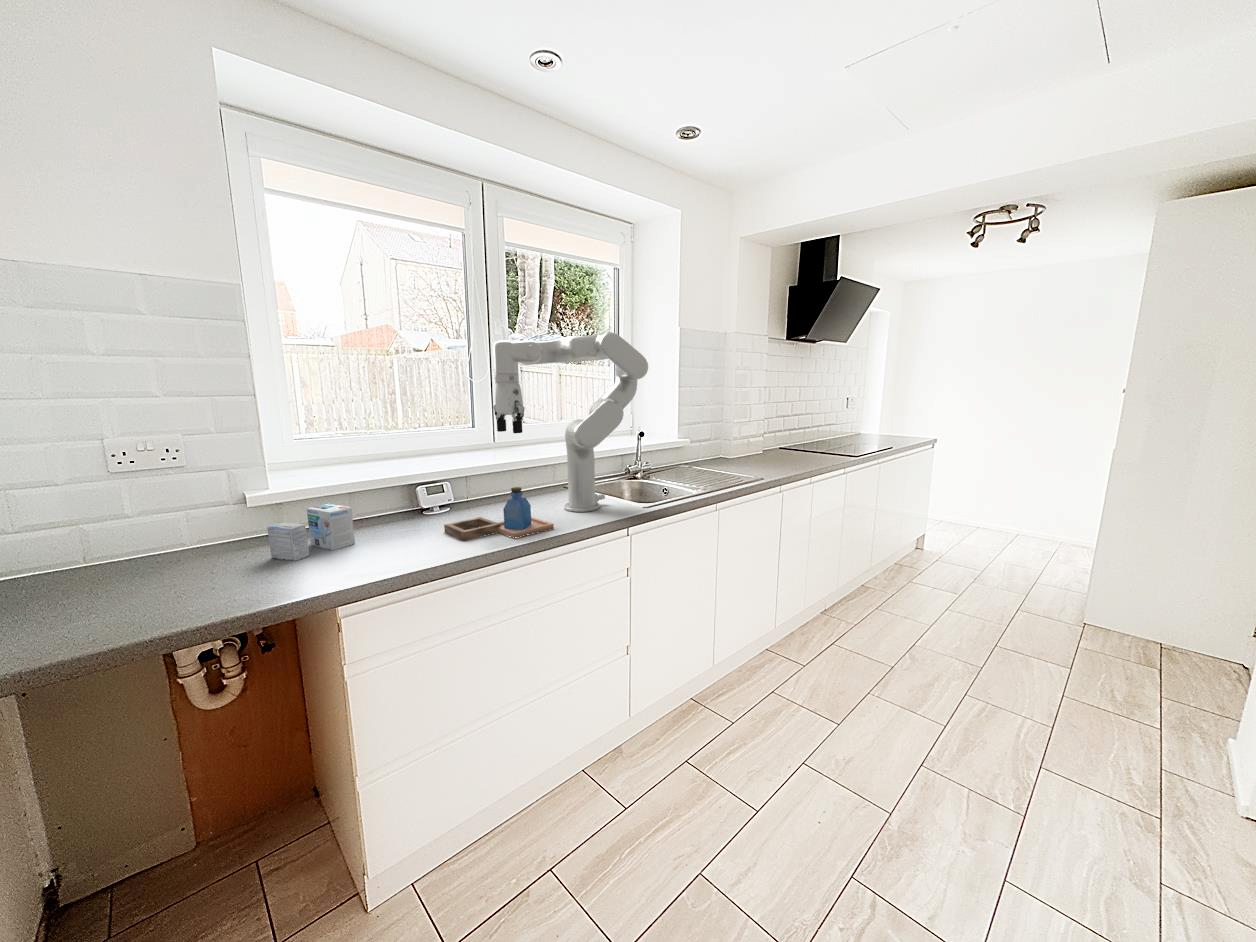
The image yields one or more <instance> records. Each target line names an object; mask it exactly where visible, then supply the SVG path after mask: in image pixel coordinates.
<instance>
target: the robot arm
mask: <svg viewBox="0 0 1256 942" xmlns="http://www.w3.org/2000/svg"><path fill="white" fill-rule="evenodd" d="M604 360H610V361H611V362H612V363H613V364H614V365H615V381H614V384H613V385H612V386H611V387H610V388H609V389H608V390H607V391H605V392H604V394H602V396H600V397H599V398H598V399H597V400H596V401H594V402H593V404H592V405H591V406H590V408H589V410H588V411H589V412H588V416H587V417H585V419H579V418H578V419H574V420H572V421H571V422H569V423H568V425H567V426H566V429H565V433H564V438H565V447H566V456H567V457H566V458H567V461H566V462H567V489H568V492H567V493H568V494H567V495H568V497H567V498H568V503H565V504H564V510H566V511H568V512H573V513H574V512H575V513H576V512H577V513H583V512H591V511H592V512H593V511H596V510H598V509H599V508H600V506H601V504H600V503H598V502H599V501H600V500H601V501H602V500H605V499H606V495H605V494H604V493H601V494H597V493H596V477H595V474H596V472H595V470H596V469H595V462H596V461H595V452H594V448H596V447H597V446H598V445H600V444H601V443H602V442H603V441H604V440H605V439H607V438H608V437H609V435H610V434H612V433H613V431H615V430H616V429H617V428H618V427H619V426H620V424H621V423H622V421H623V420H624V419H623V418H624V409H625V408H626V407H627V406H628V405H629V403H631V402H632V400H633V399H634V397H635V396H636V393H637V390H638V380H641V379H643V378H644V377H645V376H646V375H647V373H648V370H649V364H648V361H647V360H648V359H646V358H645V356H644V355H643V354H642V353H641V352H639V351H638V350H637V349H636V348H635V347H634V346H632V345H631V344H630V343H629V342H627V341H626V339H624V338H622V337H621V336H620V335H619V334H617V333H615V332H610V331H609V332H605V333H601V334H591V335H590V334H589V335H574V336H573V335H572V336H571V335H570V336H566V337H560V338H559V339H554V340H552V339H551V340H545V341H538V342H537V341H535V340H529V339H528V340H521V341H512V340H498V341H495V342H494V343H493V363H494V381H495V392H494V393H495V396H494V397H495V399H494V400H495V401H494V402H495V404H494V405H493V411H494V416H495V420H496V430H497V432H498V433H499V432H501V433H502V432H506V431H507V419H506V416H511V417H512V419H513V420H512V433H513V434H522V433H523V420H524V416H525V409H526V407H525V406H524V402H523V394H522V389H521V385H520V379H519V378H520V377H519V376H520V375H519V374H520V373H519V363H520V364H522V365H524V366H532V365H542V364H543V365H544V364H556V363H557V364H558V363H562V364H563V363H564V364H567V363H578V362H579V363H580V362H581V363H582V362H590V361H604Z"/></svg>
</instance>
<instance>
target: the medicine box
mask: <svg viewBox="0 0 1256 942" xmlns="http://www.w3.org/2000/svg"><path fill="white" fill-rule="evenodd" d="M267 534H268V541H269V548H270V550H269V551H270V556H271V559H272V558H277V559H276V560H283V559H285V561H293V562H294V561H295V562H296V561H299V560H301V558H302V559H305V558H307V557H309V556H310V549H309V542H308V536H307V534H308V533H307V528H306V524H302V523H293V522H292V523H291V522H290V523H289V522H280V523H275V524H273V525H270V526H267ZM306 556H307V557H306Z"/></svg>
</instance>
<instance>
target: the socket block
mask: <svg viewBox="0 0 1256 942" xmlns="http://www.w3.org/2000/svg"><path fill="white" fill-rule="evenodd" d="M478 526H480V527H478ZM473 527H474V528H473ZM498 527H501V525H500V524H499V523H498V522H496V521H493V520H491V519H488V518H484V517H482V516H478V517H474V518H470V519H469V518H468V519H464V520H459V521H454V522H450V523H445V524H443V529H444V534H447V535H450V536H452V537H453V538H454V537H455V538H457V539H458V538H459V540H461V541H464V542H465V541H468V539H469V540H473V539H478V538H481V537H480V536H482V537H485V536H484V535H486V536H489V535H488V534H490V535H493V534H492V533H494V534H497V533H496V532H498ZM469 528H470V529H469ZM477 537H478V538H477Z"/></svg>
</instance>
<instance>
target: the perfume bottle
mask: <svg viewBox="0 0 1256 942" xmlns="http://www.w3.org/2000/svg"><path fill="white" fill-rule="evenodd" d="M510 490H511V492H510V496H511V498H509V499H508V500H507V501H506V503H505V505H504V507H503V521H504V528H505V529H517V530H524V529H526V528H527V527H528V526H530V525H531V517H532V512H531V511H532V510H531V504H530V501H528V499H527V497H522V496H523V491H522V487H519V486H518V487H517V486H515V487H511V488H510Z"/></svg>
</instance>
